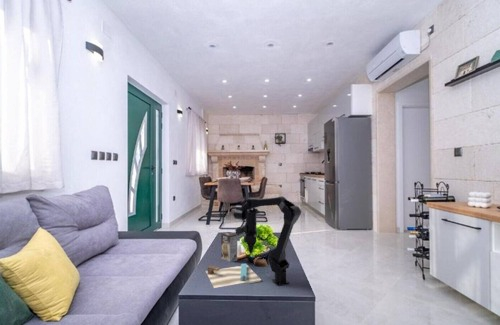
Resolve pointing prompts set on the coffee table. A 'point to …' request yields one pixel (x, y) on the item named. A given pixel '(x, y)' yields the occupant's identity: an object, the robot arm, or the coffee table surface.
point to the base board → (231, 277)
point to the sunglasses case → (260, 262)
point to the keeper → (212, 269)
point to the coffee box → (229, 246)
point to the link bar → (243, 272)
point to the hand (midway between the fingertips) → (251, 250)
